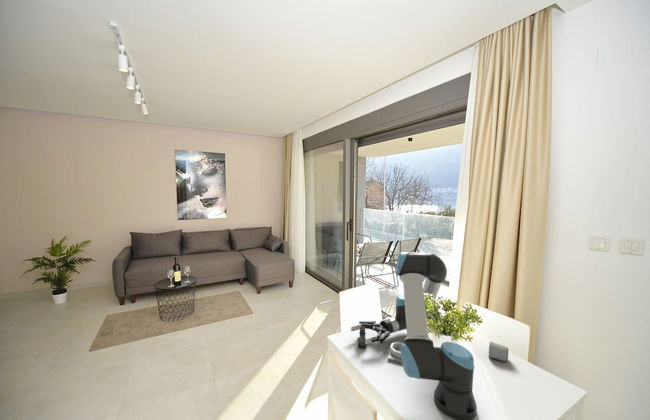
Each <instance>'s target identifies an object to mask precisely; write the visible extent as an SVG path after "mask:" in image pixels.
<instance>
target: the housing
mask: <svg viewBox="0 0 650 420" xmlns="http://www.w3.org/2000/svg"><path fill="white" fill-rule="evenodd" d="M401 344H404V342H401V341H395V342H392V343H391V344H390V347H389V353H388V356H387V362H391V363H396V364H399V365H402V366H403V364H402V359H401V350H400V347H401Z"/></svg>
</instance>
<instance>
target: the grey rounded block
mask: <svg viewBox="0 0 650 420" xmlns="http://www.w3.org/2000/svg"><path fill="white" fill-rule="evenodd" d="M488 344H489V345H488V346H489V347H488V357H489V358H491V359H494V358H495V360H498V361H501V360H502V362H505V361H506V362H508V359H509V348H508V346H506V345H502V344H500V343H497V342H494V341H491V340H490V341H489V343H488Z"/></svg>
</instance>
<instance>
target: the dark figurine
mask: <svg viewBox="0 0 650 420" xmlns="http://www.w3.org/2000/svg"><path fill="white" fill-rule="evenodd" d="M358 334H359V337H357V338H356V342H357V345H356V347H357V348H358V349H360V350H365V349H367V348H368V344H365V338H366V334H367V332H366V329H365V327H364V326H363V325H362V326H361V327H360V330H359V333H358Z"/></svg>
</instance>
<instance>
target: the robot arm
mask: <svg viewBox="0 0 650 420" xmlns="http://www.w3.org/2000/svg"><path fill="white" fill-rule="evenodd" d="M395 265H396V268H395V275H396V276H399V280H400V281H401V283H402V284H403V295H401V294H400V295H398V296H396V301H395V302H396V303H395V317H390V318H387V319H384V320H381V321H380V323H377V321H376V320H373V321H372V320H371V321H369V320H368V321H366V320H365V321H364V320H362V321H361V320H360V321H359V322H358V323H357V324H355V325H352V326H351V325H350V326H351V327H350V332H355V331H360V327H361V326H362V325H363V326H364V327H365V330H366V329H367V330H371V331H375V332H376V333H377V335H372V336H369V337H365V344H366V345H368V344H372V343H376V342H378V343H380V344H383V343H384V342H385V341H386V339H387V338H389V337H391V334H393V333H396V332H400V331H404V330H406V335H407V336H406V337H404V339H403V343H404V344H401V347H400V350H401V359H402V364H403V365H402V364H401V365H402V368H403V371H404V373H405V374H406V376H407V377H409V378H412V379H413V378H414V379H417V380H429V381H438V382H437V386H436V387H435V389H434V392H433V401H434V404H435V405H436V407H437V408H438V409H439V411H441V412H442V413H443V414H444V415H446V416H447V417H450V418H451V419H454V420H473V419H475V417H476V415H477V403H476V399H475V396H474V393H473V385H474V383H473V382H474V369H475V364H474V363H475V362H474V361H475V360H474V356H473V354H472V352H470V350H469V349H467V348H466V347H464V346H463V345H460V344H459V343H456V342H451V341H445V342H442V343H441V344H440V347H439V346H434V345H435V344H434V341H433V340H432V338H430V337H429V328H428V319H427V315H426V311H425V303H424V294H423V293H427V292H428V293H430V294H433V295H434V296H433V297H434V299H435V300H436V299H437V296H438V294H439V291H440V289H441V288H440V287H441V285H442V283H444V282H445V281H446V278H447V276H448V275H447V273H448V272H447V271H448V269H447V267H446V266H447V265H446V263H445V261H444V260H442V258H440V257H439V256H438V255H437V254H434V253H431V252H415V251H414V252H413V251H410V252H409V251H401V252H399V253H398V255H397V259H396V264H395ZM423 282H424V284H423Z"/></svg>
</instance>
